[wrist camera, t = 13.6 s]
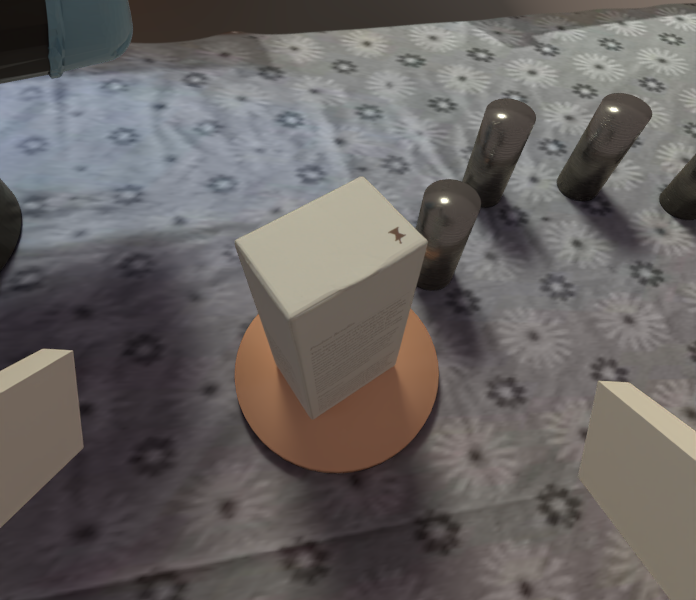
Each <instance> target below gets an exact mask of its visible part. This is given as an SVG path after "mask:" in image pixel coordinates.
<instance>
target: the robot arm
mask: <svg viewBox="0 0 696 600" xmlns="http://www.w3.org/2000/svg"><path fill="white" fill-rule="evenodd" d="M132 33H133V25H132V19H131V13H130V8H129V4H128V0H0V84H2V83H7V82H12V81H18V80H23V79H28V78H33V77H39V76H44V75H49V76H50V77H51V79H54V78H59V77H61V76H62V74H63V72H65V71H69V70H73V69H78V68H82V67H86V66H90V65H94V64H99V63H103V62H107V61H111V60H114V59H115V58H117V57H119V56H121V55H122V54H123V53H124V52H125V51H126V49H127V48H128V46H129V44H130V42H131V38H132ZM20 229H21V210H20V207H19V204H18V201H17V199H16V197H15V195H14V194H13V193H12V191H11V190H10V189H9V188H8V187H7V186H6V184H5V183H4V182H3V181H2V180H1V179H0V271H1V269H2V268H3V267H4V265H5V264H6V262H7V261H8V259H9V258H10V256H11V254H12V252H13V250H14V248H15V246H16V243H17V241H18V238H19V234H20ZM83 448H84V446H83V437H82V428H81V418H80V409H79V400H78V391H77V381H76V372H75V363H74V353H73V350H57V349H41V350H39V351H37V352H35V353H34V354H32V355H30V356H28V357H26V358H24V359H22V360H20V361H18V362H16V363H15V364H13V365H11V366H9V367H7V368H5V369H3V370H1V371H0V528H1V527H2V526H3V525H4V524H5V523H6V522H7V521H8V520H9V519H10V518H11V517H12V516H13V515H14V514H15V513H16V512H17V511H19V510H20V509H21V508H22V507H23V506H24V505H25V504H26V503H27V502H28V501H29V500H30V499H31V498H32V497H33V496H34V495H35V494H36V493H37V492H38V491H39V490H40V489H41V488H42V487H43V486H44V485H45V484H47V483H48V482H49V481H50V480H51V479H52V478H53V477H54V476H55V475H56V474H57V473H58V472H59V471H60V470H61V469H62V468H63V467H64V466H65V465H66V464H67V463H68V462H69V461H70V460H71V459H72V458H73V457H74V456H76V455H77V454H78V453H79V452H80V451H81V450H82V449H83ZM578 478H579V479H580V480H581V482H582V483H583V484H584V486H585V487H586V488H587V490H588V491H589V492H590V494H591V495H592V496H593V498H594V499H595V500H596V502H597V503H598V504H599V506H600V507H601V508H602V510H603V511H604V512H605V514H606V515H607V516H608V518H609V519H610V520H611V522H612V523H613V524H614V526H615V527H616V528H617V530H618V531H619V532H620V534H621V535H622V536H623V538H624V539H625V540H626V542H627V543H628V544H629V546H630V547H631V548H632V550H633V551H634V552H635V554H636V555H637V556H638V558H639V559H640V560H641V562H642V563H643V564H644V565H645V567H646V568H647V569H648V571H649V572H650V573H651V575H652V576H653V577H654V579H655V580H656V581H657V583H658V584H659V585H660V587H661V588H662V589H663V591H664V592H665V593H666V595H667V596H668V597H669V599H670V600H696V431H694V430H693V429H692V428H690V427H689V426H688V425H686V424H685V423H684V422H682V421H681V420H679V419H678V418H677V417H675V416H674V415H673V414H671V413H670V412H669V411H667V410H666V409H664V408H663V407H662V406H660V405H659V404H658V403H656V402H655V401H654V400H652V399H651V398H649V397H648V396H647V395H645V394H644V393H643V392H641V391H640V390H639V389H637V388H636V387H634V386H633V385H632V384H630V383H627V382H610V381H598V384H597V389H596V394H595V399H594V403H593V408H592V413H591V418H590V422H589V427H588V432H587V437H586V441H585V446H584V451H583V456H582V460H581V465H580V470H579V474H578Z"/></svg>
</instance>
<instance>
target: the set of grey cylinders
mask: <svg viewBox="0 0 696 600" xmlns="http://www.w3.org/2000/svg"><path fill="white" fill-rule="evenodd" d="M651 117H652V110H651V108H650V107H649V106H648V105H647V104H646V103H645V102H644V101H643V100H641V99H639V98H637V97H635V96H632V95H629V94H624V93H614V94H610V95H607V96H606V97H604V99H603V100H602V102H601V104H600V105H599V107H598V109H597V111H596V112H595V114H594V116H593V118H592V119H591V121H590V123H589V125H588V126H587V128H586V130H585V131H584V133H583V135H582V137H581V138H580V140H579V142H578V144H577V145H576V147H575V149H574V151H573V152H572V154H571V156H570V158H569V159H568V161H567V163H566V164H565V166H564V168H563V170H562V171H561V173H560V175H559V177H558V179H557V186H558V188H559V190H560V191H561V192H562V193H563V194H564V195H566V196H567V197H569V198H571V199H574V200H578V201H588V200H591V199H593V198H595V197H596V195H597V194H598V193H599V191H600V190H601V188H602V187H603V186H604V184H605V183H606V181H607V180H608V178H609V177H610V176H611V174H612V173H613V171H614V170H615V169H616V167H617V166H618V164H619V163H620V162H621V160H622V159H623V157H624V156H625V154H626V153H627V152H628V150H629V149H630V147H631V146H632V145H633V143H634V142H635V140H636V139H637V137H638V136H639V135H640V133H641V132H642V130H643V129H644V128H645V126H646V125H647V123H648V122H649V121H650V119H651ZM535 121H536V115H535V113H534V111H533V110H532V109H531V108H530V107H529V106H528V105H526V104H525V103H523V102H520V101H518V100H514V99H498V100H495V101H493V102H491V103H490V104H489V105H488V106H487V108H486V111H485V114H484V117H483V120H482V123H481V126H480V129H479V132H478V135H477V138H476V141H475V144H474V147H473V150H472V153H471V156H470V159H469V162H468V165H467V169H466V172H465V175H464V178H463V181H462V182H461V181H458V180H452V179H445V180H439V181H436V182H434V183H432V184H431V185H430V186H428V187H427V189H426V190H425V193H424V196H423V200H422V205H421V209H420V213H419V217H418V221H417V226H416V230H417V231H418V232H419V233H420V234H421V235H422V236H423V237H424V238H426V239H427V241H428V244H427V248H426V252H425V256H424V260H423V263H422V267H421V271H420V275H419V278H418V282H417V286H418V287H420V288H422V289H425V290H439V289H442V288H444V287H445V286H447V285H448V284H449V283H450V281H451V279H452V277H453V274H454V272H455V270H456V267H457V265H458V262H459V260H460V257H461V255H462V252H463V250H464V247H465V245H466V242H467V240H468V238H469V235H470V233H471V230H472V228H473V225H474V223H475V220H476V218H477V215H478V213H479V210H480V208H481V207H484V208H485V207H491V206H494V205H496V204H497V203H498V202H499V201H500V199H501V197H502V195H503V192H504V190H505V188H506V186H507V184H508V181H509V179H510V177H511V175H512V173H513V170H514V168H515V166H516V164H517V161H518V159H519V157H520V155H521V153H522V150H523V148H524V146H525V144H526V141H527V139H528V137H529V135H530V133H531V130H532V128H533V126H534V124H535ZM659 200H660V203H661V205H662V207H663V208H664V209H665V210H666V211H667V212H668V213H670V214H671V215H673V216H675V217H678V218H681V219H685V220H693V219H696V154H695V155H694V156H693V157H692V159H691V160H690V161H689V162H688V163H687V164H686V165H685V166H684V168H683V169H682V170H681V171H680V172H679V173H678V174H677V176H676V177H675V178H674V179H673V180H672V181H671V182H670V184H669V185H668V186H667V187H666V188H665V189H664V190H663V192H662V193H661V194H660V197H659Z"/></svg>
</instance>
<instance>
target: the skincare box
mask: <svg viewBox="0 0 696 600" xmlns="http://www.w3.org/2000/svg"><path fill="white" fill-rule="evenodd" d="M427 244H428V241H427V239H426V238H424V237H423V236H422V235H421V234H420V233H419V232H418V231H417V230H416V229H415V228H414V227H413V226H412V225H411V224H410V223H409V222H408V221H407V220H406V219H405V218H404V217H403V216H402V215H401V214H400V213H399V212H398V211H397V210H396V209H395V208H394V207H393V206H392V205H391V204H390V203H389V202H388V201H387V200H386V199H385V198H384V197H383V196H382V194H381V193H380V192H379V191H378V190H377V189H376V188H375V187H374V186H372V185H371V184H370V183H369V182H368V181H367V180H366V179H365V178H364V177H359V178H357V179H355V180H353V181H351V182H349V183H347V184H345V185H343V186H341V187H340V188H338V189H336V190H333V191H331V192H329V193H327V194H326V195H324V196H322V197H320V198H318V199H316V200H314V201H312V202H310V203H308V204H306V205H304V206H302V207H300V208H298V209H296V210H294V211H292V212H290V213H288V214H286V215H285V216H283V217H281V218H279V219H277V220H275V221H273V222H271V223H269V224H267V225H265V226H263V227H261V228H259V229H257V230H255V231H253V232H251V233H249V234H247V235H245V236H243V237H241V238H238V239H237V240H235V247H236V250H237V253H238V256H239V259H240V262H241V265H242V267H243V270H244V273H245V276H246V279H247V282H248V285H249V288H250V291H251V294H252V296H253V299H254V302H255V305H256V308H257V310H258V314H259V317H260V320H261V322H262V325H263V328H264V331H265V334H266V337H267V340H268V343H269V346H270V349H271V352H272V355H273V358H274V361H275V363H276V365H277V367H278V368H279V370H280V371H281V373H282V375H283V376H284V378H285V379H286V381H287V383H288V384H289V386H290V387H291V389H292V390H293V392H294V394H295V395H296V397H297V398H298V400H299V402H300V403H301V405H302V406H303V408H304V409H305V411H306V413H307V414H308V416H309V417H310V418H311V419H315V418H317V417H318V416H320V415H321V414H323V413H324V412H326V411H327V410H329V409H330V408H332V407H333V406H335V405H336V404H338V403H339V402H341V401H342V400H344V399H345V398H347V397H348V396H350V395H351V394H353V393H354V392H356V391H357V390H358V389H360V388H361V387H363V386H364V385H366V384H368V383H369V382H370V381H372V380H373V379H375V378H376V377H378V376H379V375H381V374H382V373H384V372H385V371H387V370H388V369H390V368H391V367H393V366H394V365H395V364H396V361H397V357H398V353H399V350H400V346H401V342H402V338H403V334H404V330H405V327H406V323H407V319H408V316H409V312H410V308H411V304H412V300H413V297H414V293H415V289H416V286H417V282H418V278H419V275H420V271H421V267H422V263H423V260H424V256H425V252H426V248H427Z"/></svg>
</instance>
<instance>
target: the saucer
mask: <svg viewBox="0 0 696 600" xmlns="http://www.w3.org/2000/svg"><path fill="white" fill-rule="evenodd" d="M438 378H439V371H438V360H437V356H436V351H435V348H434V345H433V342H432V339H431V337H430V335H429V333H428V331H427V329H426V327H425V326H424V325H423V323H422V322H421V320H420V319H419V317H418V316H417V315H416V314H415V313H414V312H413V311H412V309H411V308H410V312H409V316H408V319H407V323H406V327H405V330H404V334H403V338H402V342H401V346H400V350H399V353H398V357H397V361H396V364H395V365H394V366H393V367H391V368H390V369H388V370H387V371H385V372H384V373H382V374H381V375H379V376H378V377H376V378H375V379H373V380H372V381H370V382H369V383H368V384H366V385H364V386H363V387H361V388H360V389H358V390H357V391H356V392H354V393H353V394H351V395H350V396H348V397H347V398H345V399H344V400H342V401H341V402H339V403H338V404H336V405H335V406H333V407H332V408H330V409H329V410H327V411H326V412H324V413H323V414H321V415H320V416H318V417H317V418H315V419H311V418H310V417H309V416H308V414H307V413H306V411H305V409H304V408H303V406H302V405H301V403H300V402H299V400H298V398H297V397H296V395H295V394H294V392H293V390H292V389H291V387H290V386H289V384H288V383H287V381H286V379H285V378H284V376H283V375H282V373H281V371H280V370H279V368H278V367H277V365H276V363H275V361H274V358H273V355H272V352H271V349H270V346H269V343H268V340H267V337H266V334H265V331H264V328H263V325H262V322H261V320H260V317H259V314H258V315H257V316H256V317H255V319H254V320H253V321H252V323H251V324H250V326H249V327H248V329H247V330H246V332H245V335H244V337H243V339H242V341H241V344H240V347H239V350H238V353H237V358H236V364H235V386H236V393H237V397H238V401H239V404H240V407H241V409H242V412H243V414H244V416H245V418H246V420H247V421H248V423H249V425H250V426H251V428H252V430H253V431H254V433H255V434H256V435H257V436H258V437H259V439H260V440H261V441H262V442H263V443H264V444H265V445H266V446H267V447H268V448H269V449H270V450H271V451H272V452H274V453H275V454H277V455H278V456H280V457H281V458H283V459H284V460H286V461H288V462H290V463H292V464H294V465H296V466H299V467H302V468H305V469H308V470H312V471H317V472H322V473H350V472H356V471H360V470H365V469H368V468H371V467H373V466H376V465H379V464H381V463H383V462H385V461H386V460H388V459H390V458H392V457H393V456H395V455H396V454H397V453H399V452H400V451H401V450H403V449H404V448H405V447H406V446H407V445H408V444H409V443H410V442H411V441H412V440H413V439H414V438H415V436H416V435H417V434H418V432H419V431H420V430H421V428H422V427H423V425H424V424H425V422H426V420H427V418H428V416H429V414H430V412H431V410H432V407H433V404H434V402H435V398H436V394H437V389H438Z"/></svg>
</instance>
